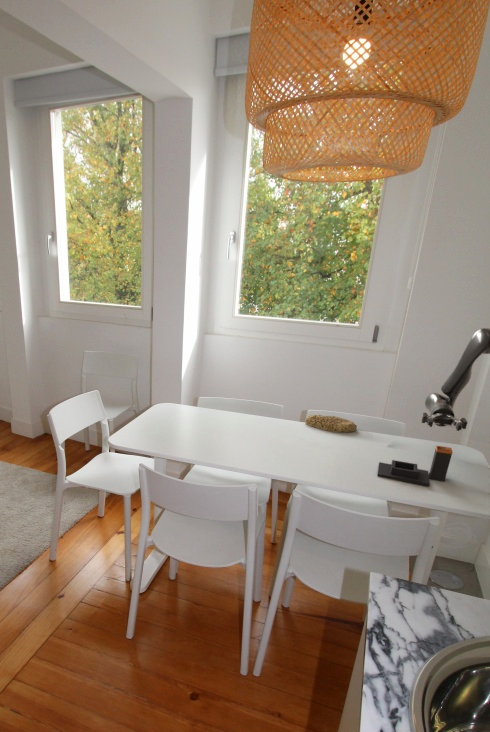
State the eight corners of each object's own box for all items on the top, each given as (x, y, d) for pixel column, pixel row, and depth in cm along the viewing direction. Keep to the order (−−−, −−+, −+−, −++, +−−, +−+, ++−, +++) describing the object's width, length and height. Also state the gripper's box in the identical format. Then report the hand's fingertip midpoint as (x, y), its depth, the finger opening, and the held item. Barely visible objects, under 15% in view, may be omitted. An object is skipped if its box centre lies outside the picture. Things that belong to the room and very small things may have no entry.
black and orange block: (443, 476, 165) (451, 447, 161) (444, 481, 162) (452, 452, 158) (428, 474, 167) (436, 445, 163) (429, 478, 163) (437, 449, 159)
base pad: (427, 473, 168) (429, 464, 167) (428, 486, 158) (431, 476, 157) (378, 464, 175) (380, 455, 173) (377, 476, 165) (379, 467, 163)
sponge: (303, 432, 210) (348, 436, 196) (303, 414, 209) (349, 417, 195) (315, 429, 219) (359, 433, 206) (316, 413, 218) (360, 415, 205)
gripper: (423, 402, 183) (425, 413, 170) (466, 407, 177) (471, 419, 164) (419, 420, 186) (420, 432, 172) (460, 426, 180) (465, 439, 166)
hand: (445, 426), depth 168 cm, fingers open, 8 cm apart
